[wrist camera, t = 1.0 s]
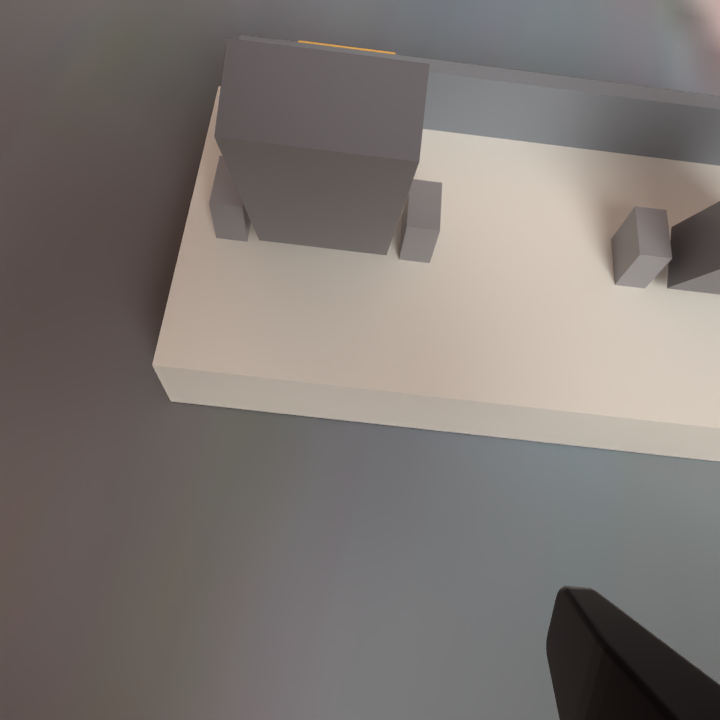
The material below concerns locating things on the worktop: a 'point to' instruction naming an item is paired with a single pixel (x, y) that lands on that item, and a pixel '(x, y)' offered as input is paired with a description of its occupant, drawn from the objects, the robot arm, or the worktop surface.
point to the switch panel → (477, 277)
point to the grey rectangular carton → (321, 142)
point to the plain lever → (696, 253)
